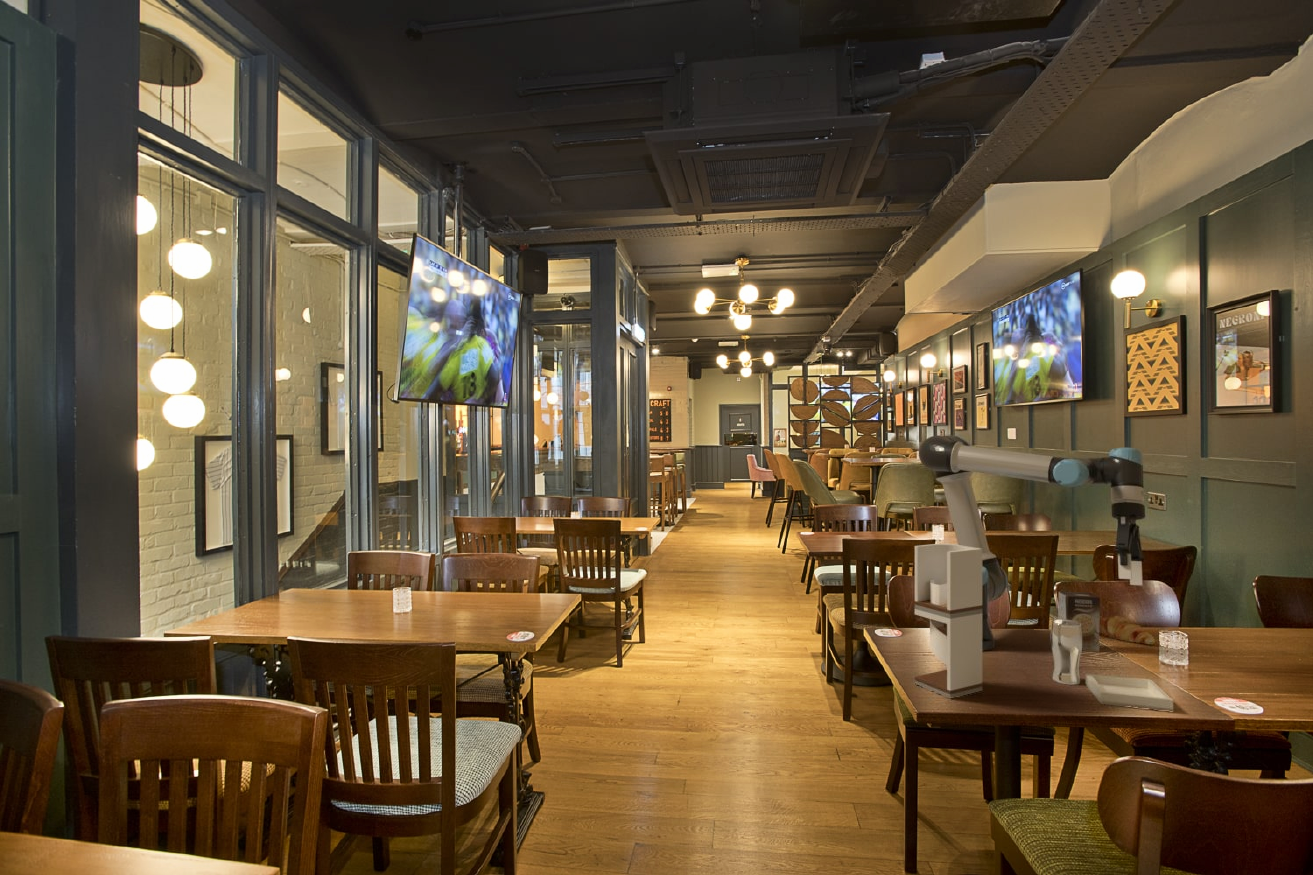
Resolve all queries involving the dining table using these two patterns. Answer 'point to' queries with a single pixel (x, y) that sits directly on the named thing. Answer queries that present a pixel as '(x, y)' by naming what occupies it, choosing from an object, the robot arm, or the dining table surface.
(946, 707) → the dining table surface
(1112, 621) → the croissant
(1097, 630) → the coffee box
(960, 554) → the tall white shelf unit
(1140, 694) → the dish
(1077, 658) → the beer glass
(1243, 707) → the dining table surface
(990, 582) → the robot arm
